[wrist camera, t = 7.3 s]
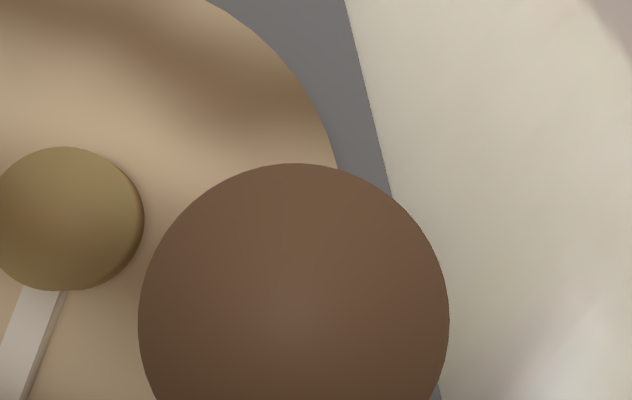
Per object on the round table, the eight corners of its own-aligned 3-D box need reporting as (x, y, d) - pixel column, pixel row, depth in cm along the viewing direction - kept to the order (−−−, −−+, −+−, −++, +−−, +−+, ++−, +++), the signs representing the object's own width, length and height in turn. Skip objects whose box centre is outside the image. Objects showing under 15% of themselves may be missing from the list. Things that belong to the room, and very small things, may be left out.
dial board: (-231, 32, 20) (-378, -38, 15) (320, -60, 22) (330, -146, 17) (-150, 846, 16) (-309, 1056, 12) (492, 651, 18) (559, 770, 14)
